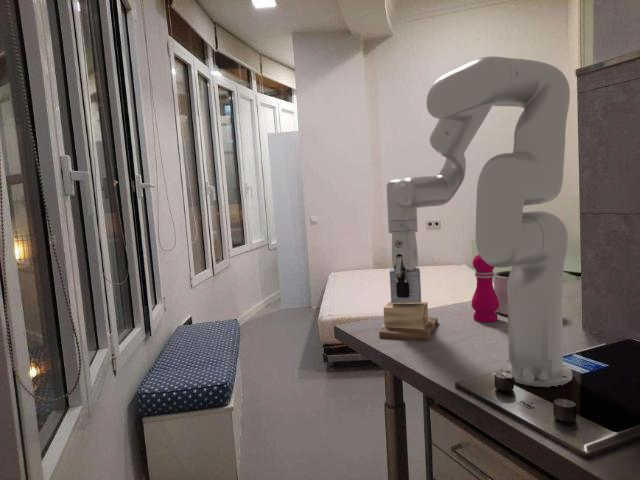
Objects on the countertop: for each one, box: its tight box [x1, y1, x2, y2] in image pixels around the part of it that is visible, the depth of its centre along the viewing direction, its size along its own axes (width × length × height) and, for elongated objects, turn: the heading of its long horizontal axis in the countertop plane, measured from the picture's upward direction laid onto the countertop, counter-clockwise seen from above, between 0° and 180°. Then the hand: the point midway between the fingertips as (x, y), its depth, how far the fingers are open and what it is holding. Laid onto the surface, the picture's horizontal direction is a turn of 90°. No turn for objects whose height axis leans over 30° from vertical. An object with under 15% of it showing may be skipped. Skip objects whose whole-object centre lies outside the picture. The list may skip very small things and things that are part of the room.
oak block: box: [383, 300, 429, 328], centre depth 127 cm, size 8×10×5 cm
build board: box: [378, 316, 439, 342], centre depth 126 cm, size 16×12×2 cm
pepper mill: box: [471, 254, 499, 323], centre depth 130 cm, size 7×7×20 cm
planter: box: [493, 270, 511, 317], centre depth 137 cm, size 13×13×11 cm
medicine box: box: [389, 267, 422, 303], centre depth 126 cm, size 8×4×9 cm, turn 79°
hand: (405, 294), depth 126 cm, fingers closed on medicine box, 5 cm apart
